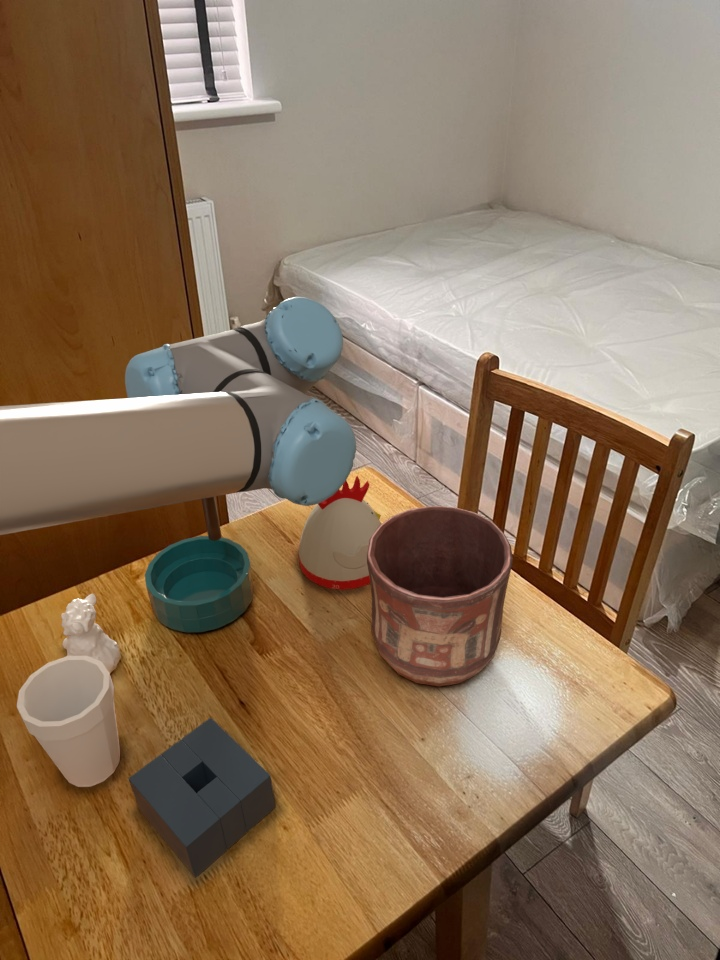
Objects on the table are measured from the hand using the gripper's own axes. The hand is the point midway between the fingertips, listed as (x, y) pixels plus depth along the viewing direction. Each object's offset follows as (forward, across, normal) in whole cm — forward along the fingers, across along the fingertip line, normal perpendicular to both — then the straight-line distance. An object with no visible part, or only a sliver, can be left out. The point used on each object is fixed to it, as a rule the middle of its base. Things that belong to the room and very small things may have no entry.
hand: (187, 466), depth 98 cm
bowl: (+13, -3, -17) cm, 21 cm away
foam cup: (+4, -28, -26) cm, 38 cm away
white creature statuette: (+14, -21, -16) cm, 30 cm away
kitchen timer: (+7, +18, -23) cm, 30 cm away
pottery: (-9, +13, -39) cm, 41 cm away
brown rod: (+4, 0, -10) cm, 11 cm away
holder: (-6, -22, -36) cm, 42 cm away
